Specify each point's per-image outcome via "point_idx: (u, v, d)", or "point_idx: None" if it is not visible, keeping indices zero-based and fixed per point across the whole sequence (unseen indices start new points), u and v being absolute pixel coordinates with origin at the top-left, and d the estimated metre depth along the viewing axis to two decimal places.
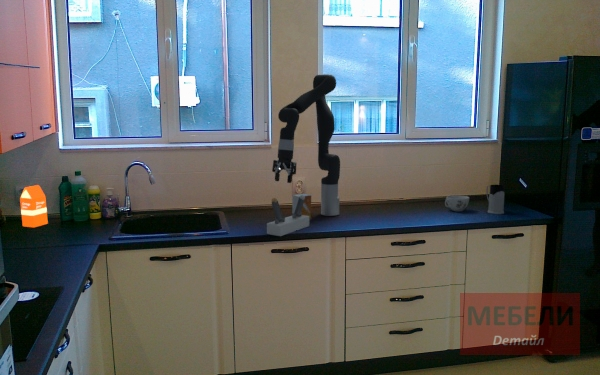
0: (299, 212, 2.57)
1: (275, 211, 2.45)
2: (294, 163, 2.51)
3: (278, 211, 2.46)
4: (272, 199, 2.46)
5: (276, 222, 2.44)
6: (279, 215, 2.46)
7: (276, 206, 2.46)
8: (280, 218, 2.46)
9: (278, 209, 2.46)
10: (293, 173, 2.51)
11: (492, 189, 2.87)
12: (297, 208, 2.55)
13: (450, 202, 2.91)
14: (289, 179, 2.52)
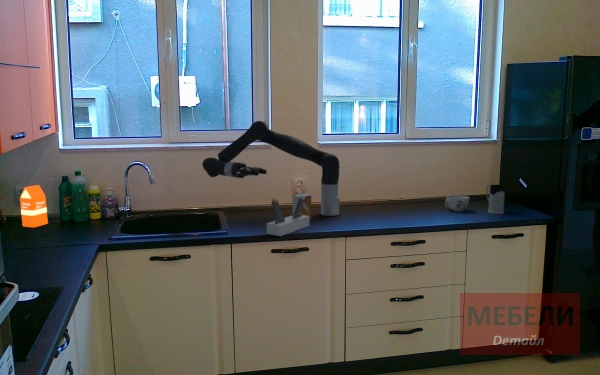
0: (299, 212, 2.57)
1: (275, 211, 2.45)
2: (237, 172, 2.49)
3: (278, 211, 2.46)
4: (272, 199, 2.46)
5: (276, 222, 2.44)
6: (279, 215, 2.46)
7: (276, 206, 2.46)
8: (280, 218, 2.46)
9: (278, 209, 2.46)
10: (246, 174, 2.47)
11: (492, 189, 2.87)
12: (297, 208, 2.55)
13: (450, 202, 2.91)
14: (254, 174, 2.47)
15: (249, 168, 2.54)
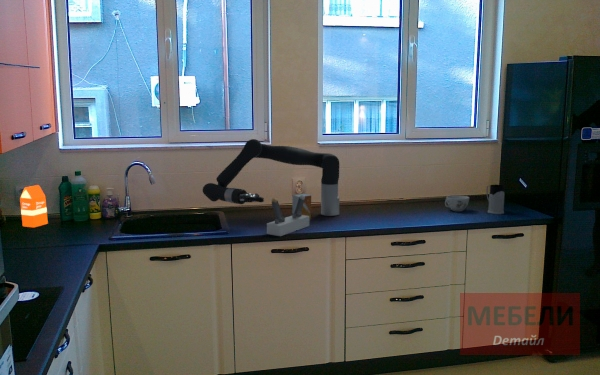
0: (299, 212, 2.57)
1: (275, 211, 2.45)
2: (241, 200, 2.51)
3: (278, 211, 2.46)
4: (272, 199, 2.46)
5: (276, 222, 2.44)
6: (279, 215, 2.46)
7: (276, 206, 2.46)
8: (280, 218, 2.46)
9: (278, 209, 2.46)
10: (251, 200, 2.51)
11: (492, 189, 2.87)
12: (297, 208, 2.55)
13: (450, 202, 2.91)
14: None
15: (248, 195, 2.56)
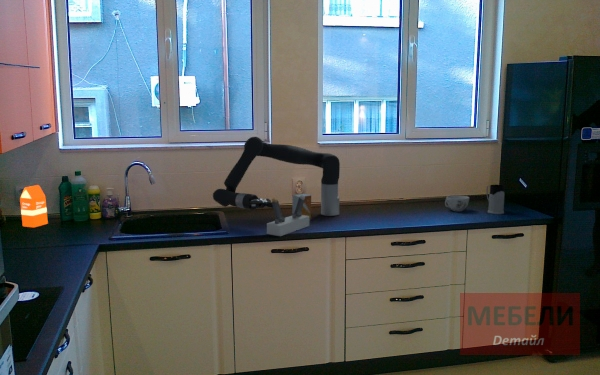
0: (299, 212, 2.57)
1: (275, 211, 2.45)
2: (253, 205, 2.47)
3: (278, 211, 2.46)
4: (272, 199, 2.46)
5: (276, 222, 2.44)
6: (279, 215, 2.46)
7: (276, 206, 2.46)
8: (280, 218, 2.46)
9: (278, 209, 2.46)
10: (263, 206, 2.48)
11: (492, 189, 2.87)
12: (297, 208, 2.55)
13: (450, 202, 2.91)
14: (270, 206, 2.47)
15: (260, 200, 2.53)
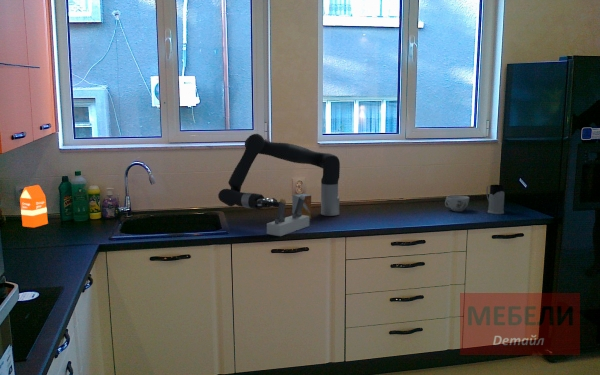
0: (299, 212, 2.57)
1: (279, 211, 2.44)
2: (259, 205, 2.45)
3: (282, 212, 2.45)
4: (281, 199, 2.43)
5: (276, 222, 2.44)
6: (281, 216, 2.45)
7: (282, 207, 2.44)
8: (280, 219, 2.46)
9: (282, 210, 2.45)
10: (269, 205, 2.45)
11: (492, 189, 2.87)
12: (297, 208, 2.55)
13: (450, 202, 2.91)
14: (276, 206, 2.45)
15: (266, 199, 2.51)
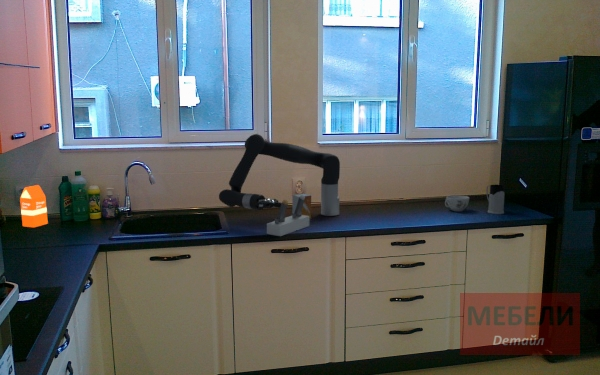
0: (299, 212, 2.57)
1: (280, 212, 2.44)
2: (260, 205, 2.44)
3: (283, 213, 2.45)
4: (284, 200, 2.42)
5: (276, 222, 2.44)
6: (281, 216, 2.45)
7: (283, 208, 2.43)
8: (281, 219, 2.46)
9: (284, 211, 2.45)
10: (270, 206, 2.45)
11: (492, 189, 2.87)
12: (297, 208, 2.55)
13: (450, 202, 2.91)
14: (277, 206, 2.45)
15: None
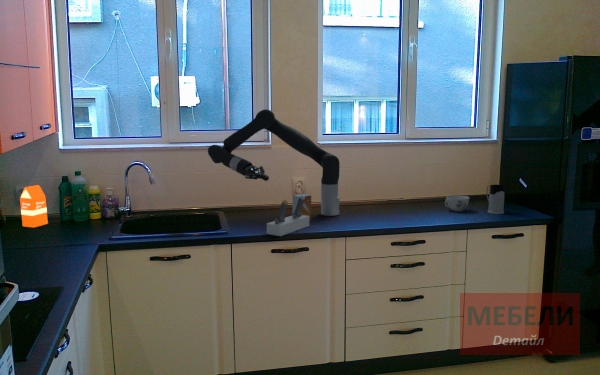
0: (299, 212, 2.57)
1: (280, 212, 2.44)
2: (246, 176, 2.51)
3: (283, 213, 2.45)
4: (284, 200, 2.42)
5: (276, 222, 2.44)
6: (281, 216, 2.45)
7: (283, 208, 2.43)
8: (281, 219, 2.46)
9: (284, 211, 2.45)
10: (256, 178, 2.52)
11: (492, 189, 2.87)
12: (297, 208, 2.55)
13: (450, 202, 2.91)
14: (263, 179, 2.52)
15: (254, 169, 2.56)
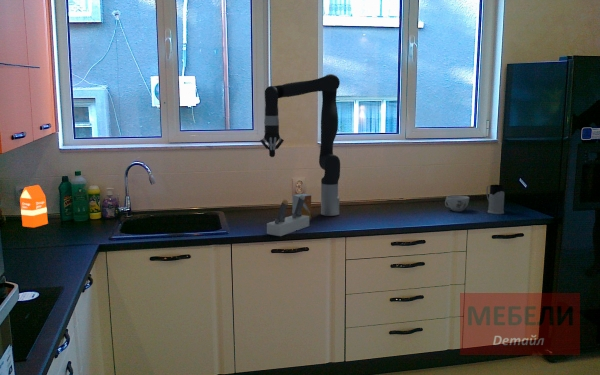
0: (299, 212, 2.57)
1: (280, 212, 2.44)
2: (261, 141, 2.76)
3: (283, 213, 2.45)
4: (284, 200, 2.42)
5: (276, 222, 2.44)
6: (281, 216, 2.45)
7: (283, 208, 2.43)
8: (281, 219, 2.46)
9: (284, 211, 2.45)
10: (266, 148, 2.78)
11: (492, 189, 2.87)
12: (297, 208, 2.55)
13: (450, 202, 2.91)
14: None
15: (273, 139, 2.76)
